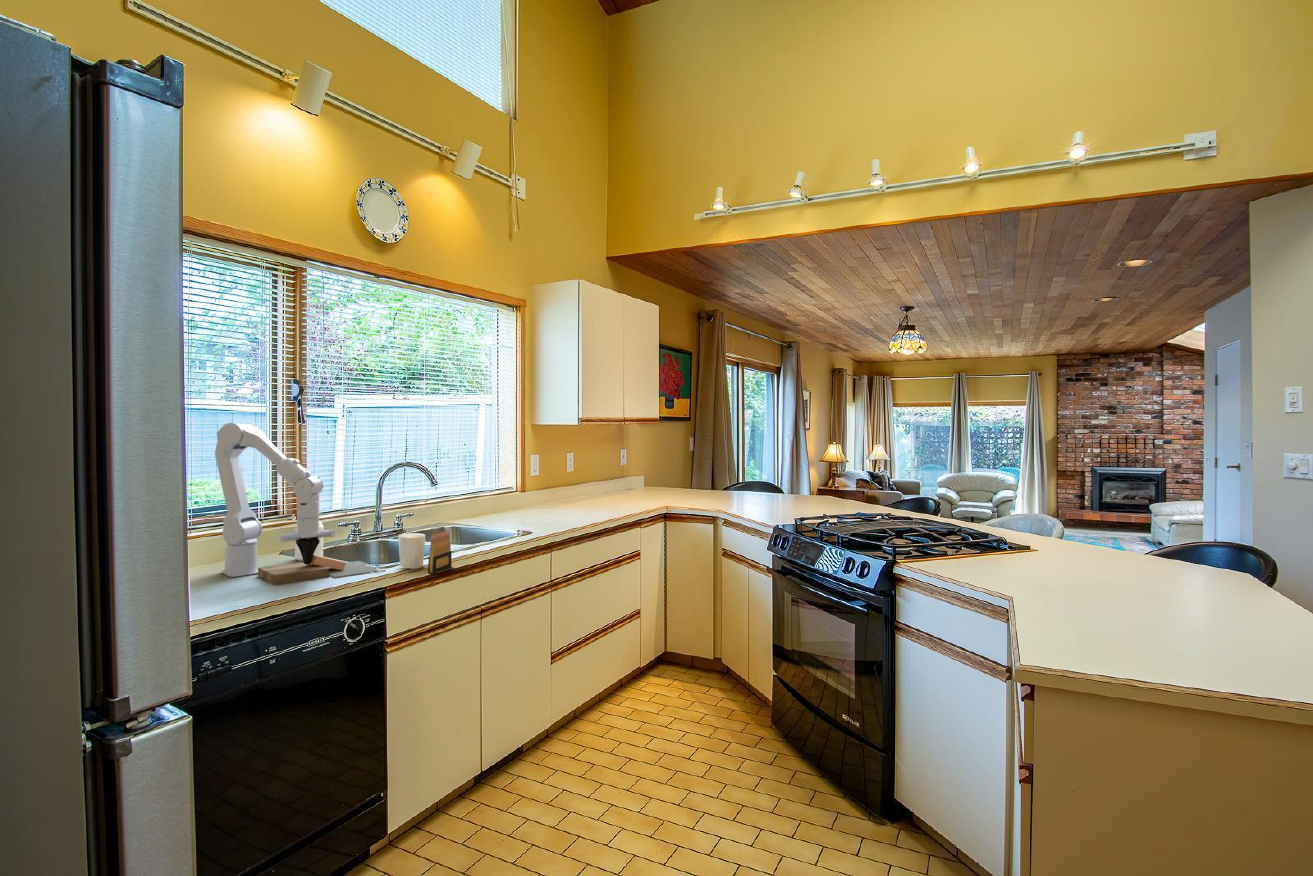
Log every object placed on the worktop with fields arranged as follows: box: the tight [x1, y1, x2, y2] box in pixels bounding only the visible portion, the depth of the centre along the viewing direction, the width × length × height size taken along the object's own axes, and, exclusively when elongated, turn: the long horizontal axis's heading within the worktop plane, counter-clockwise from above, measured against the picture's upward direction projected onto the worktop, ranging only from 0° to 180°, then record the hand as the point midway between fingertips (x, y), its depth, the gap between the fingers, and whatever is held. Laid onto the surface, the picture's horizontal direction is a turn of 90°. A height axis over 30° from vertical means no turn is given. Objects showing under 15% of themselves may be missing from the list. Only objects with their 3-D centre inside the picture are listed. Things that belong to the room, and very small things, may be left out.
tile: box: [311, 554, 346, 570], centre depth 197 cm, size 6×9×2 cm, turn 139°
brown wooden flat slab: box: [257, 561, 330, 586], centre depth 190 cm, size 14×14×2 cm
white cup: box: [398, 532, 426, 570], centre depth 206 cm, size 8×8×10 cm
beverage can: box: [294, 521, 324, 562], centre depth 215 cm, size 8×8×12 cm
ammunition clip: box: [427, 529, 453, 575], centre depth 203 cm, size 11×2×12 cm, turn 168°
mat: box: [327, 560, 380, 579], centre depth 200 cm, size 18×15×1 cm
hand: (307, 563), depth 193 cm, fingers closed
